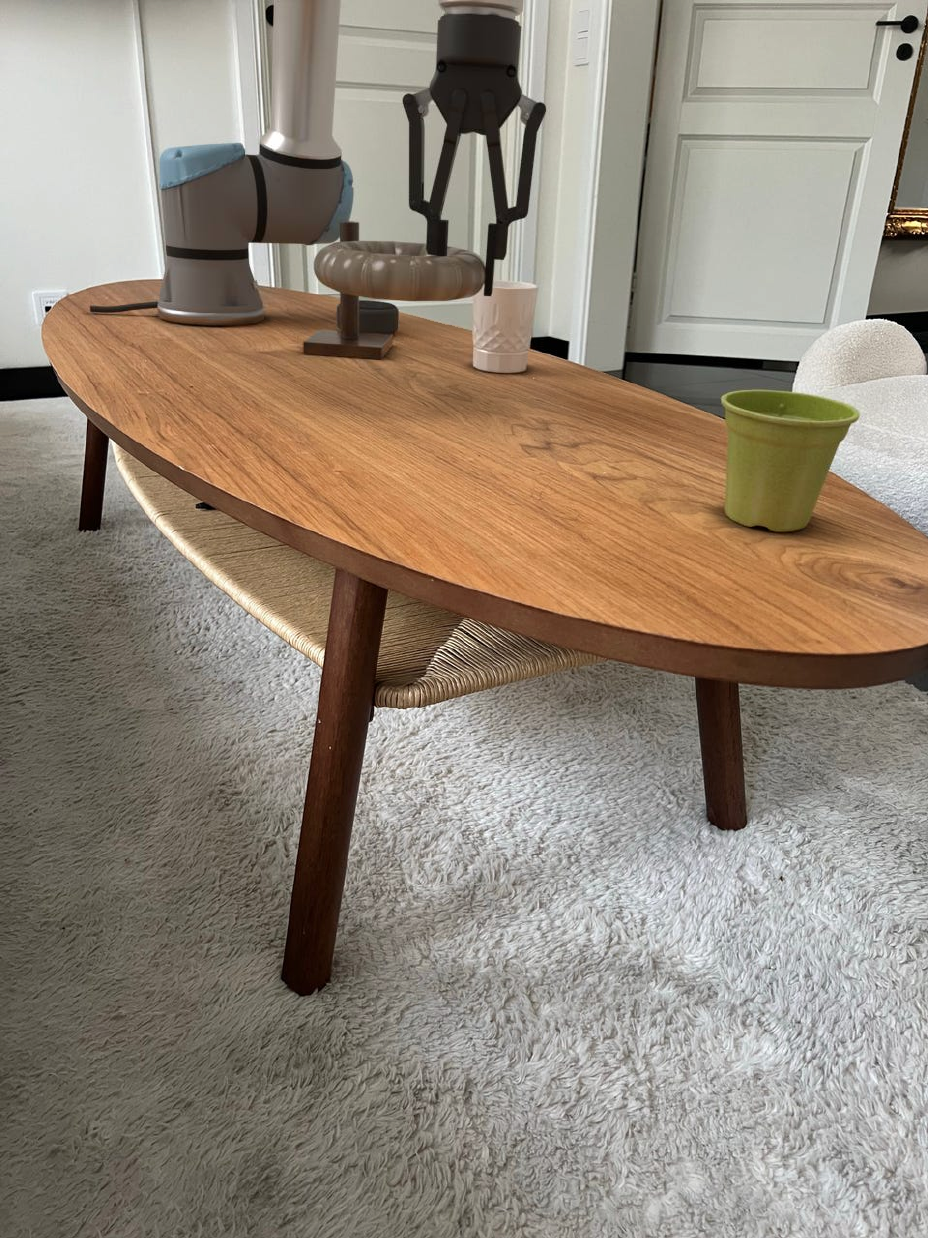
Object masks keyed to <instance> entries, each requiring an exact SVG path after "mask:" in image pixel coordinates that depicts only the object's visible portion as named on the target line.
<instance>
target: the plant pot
mask: <svg viewBox="0 0 928 1238" xmlns="http://www.w3.org/2000/svg"><path fill="white" fill-rule="evenodd" d="M720 401H721V402H720V404H721V406H722V407H723V408H724V409H725V410H724V412H725V413H724V414H725V415H724V416H725V417H724V418H725V419H724V422H725V424H726V425H725V426H726V427H727V442H726V443H727V444H726V445H727V446H726V469H725V489H724V490H725V493H724V513H725V515H726V516H727V517H728V518H729V519H730V520H732V521H733V522H736V523H738V524H739V525H741V526H743V527H749V528H752V527H755V526H759V527H765V528H767V529H768V530H769V531H772V532H778V533H783V532H793V531H799V530H802V529H804V528H806V527H807V525H808V524H809V522H810V520H811V517H812V515H813V513H814V510H815V507H816V506H817V505H816V504H817V501H818V500H819V497H820V494H821V492H822V490H823V486H824V484H825V481H826V480H827V479H826V478H827V476H828V474H829V471H830V469H831V467H832V464H833V461H834V459H835V456H836V454H837V452H838V449H839V447H840V444H841V442H843V441H844V440H845V438H846V437H847V435H848V432H849V430H850V427H851V426H852V424H855V423H856V422H858V420H859V418H860V411H859V410H858V409H856V407H854V406H852V405H850V404H847V403H845V402H842V401H839V400H836V399H831V398H828V397H824V396H819V395H815V394H809V393H804V392H795V391H788V390H787V391H786V390H772V389H741V390H736V391H735V390H734V391H730V392H727V393H725V394H723V395H722V396H721V398H720Z"/></svg>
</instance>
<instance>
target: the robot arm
mask: <svg viewBox="0 0 928 1238" xmlns="http://www.w3.org/2000/svg"><path fill="white" fill-rule="evenodd" d="M341 2H342V0H273V23H272V24H273V25H272V27H273V28H272V33H273V34H272V63H271V65H272V66H271V67H272V68H271V69H272V70H271V102H270V103H271V104H270V105H271V107H270V108H271V110H270V112H271V113H270V126H269V129H267V131H266V132H265V133H264V134H262V135H261V136H260V137H259V145H258V146H259V151H258V154H246V149H245V148H244V145H243V143H241V142H226V143H225V142H224V143H207V144H195V145H184V146H173V147H169V148H167V149H165V150H163V151H162V152H161V154H160V156H159V160H158V168H159V169H158V170H159V173H158V174H159V175H158V177H159V178H158V179H159V183H158V189H159V190H160V198H161V209H162V223H163V230H164V231H163V232H164V233H163V234H164V243H165V256H166V264H165V268H164V272H163V278H162V281H161V286H160V291H159V295H158V300H157V301H146V302H136V303H128V304H127V303H126V304H120V305H119V304H118V305H109V306H108V305H107V306H105V305H104V306H102V305H89V311H90V313H102V314H114V313H123V312H131V311H138V310H139V311H140V310H151V309H157V312H158V313H157V315H158V318H160V319H161V320H163V321H168V322H171V323H177V324H184V325H196V326H239V325H249V324H250V325H251V324H254V323H255V324H256V323H259V322H262V321H263V320H265V306H264V302H263V300H262V296H261V294H260V291H259V288H260V286H259V283H258V281H257V279H255V277H254V273H253V271H252V269H251V264H250V250H249V249H250V248H249V247H250V246H249V245H250V244H282V245H283V244H285V245H286V244H287V245H289V244H290V245H291V244H292V245H298V244H299V245H305V246H314V245H325V244H328V245H329V244H332V243H335V242H337V241H338V240H340V221H350V219H351V214H352V211H353V205H354V197H355V196H354V195H355V191H354V188H355V187H353V183H354V177H353V176H354V175H353V173H352V169H351V167H350V165H349V164H348V162H347V161H344V160H343V159H342V154H343V153H342V148H341V147H340V145H339V144H338V143H337V142H336V141H335V139H334V136H333V131H334V130H333V129H334V113H335V98H336V97H335V96H336V84H337V83H336V82H337V81H336V80H337V64H338V50H339V32H340V30H339V29H340V18H341ZM524 2H525V0H438V4H437V5H438V7H439V8H440V10H442V11H444V14H443V15H442V16H439V17H440V18H439V19H438V20H437V31H436V32H437V33H436V34H437V35H436V57H435V71H434V75H433V77H432V79H431V81H430V83H429V87H428V88H425V89H423V90H420V91H418V92H415V93H409V92H408V93H405V94H404V95H403V96H402V105H403V109H404V112H405V115H406V118H407V121H408V208H409V209H410V210H411V211H412V212H416V213H418V214H420V215H422V216H423V217H424V218H425V219H426V242H425V244H426V250H427V253H428V255H437V256H447V246H448V241H449V222H450V221H449V220H450V219H442V215H443V209H444V206H445V202H446V197H447V193H448V189H449V184H450V181H451V177H452V172H453V169H454V164H455V161H456V159H455V158H456V157H457V151H458V147H459V144H460V141H461V138H462V137H461V136H462V135H468V134H472V133H475V134H478V135H481V136H485V142H486V147H487V154H488V163H489V171H490V179H491V187H492V189H491V190H492V196H493V204H494V212H495V213H494V214H495V223H493V222H489V223H488V225H487V239H486V254H485V265H486V267H485V282H484V296H491V295H492V290H493V280H494V275H495V261H504V260H505V258H506V256H507V253H508V240H509V237H508V236H509V228H510V225H511V224H512V223H513V222H516V221H519V220H524V219H525V218H527V216H528V213H529V209H530V208H529V207H530V199H531V198H530V197H531V189H532V180H533V171H534V163H535V153H536V145H537V137H538V131H539V129H540V127H541V125H542V122H543V121H544V118H545V116H546V113H547V106H546V104H545V103H543V102H541V101H538V102H537V101H536V100H534V99H532V98H531V97H529V96H527V95H525V94H524V93H523V90H522V86H521V84H520V81H519V67H520V66H519V65H520V53H521V52H520V51H521V39H522V25H520V24H521V23H520V22H519V21H518V20H516V17H518V16H520V15H521V14H522V13H523V11H524ZM432 102H434V104H435V106H436V108H437V109H438V111H439V113H440V115H441V117H442V118H443V120H444V122H445V123H446V127H445V131H444V136H443V142H442V143H443V144H442V147H441V151H440V155H439V159H438V164H437V168H436V172H435V176H434V180H433V185H432V188H431V194H430V197H429V201H428V200H426V199H425V152H426V151H425V150H426V149H425V147H426V146H425V143H426V142H425V141H426V140H425V139H426V132H425V131H426V130H425V129H426V128H425V119H424V118H427V117H428V116H429V113H430V104H431V103H432ZM517 107H518V108H519V109H520V121H521V123H522V124H523V125H525V127H524V131H523V137H522V146H521V156H520V165H519V174H518V184H517V191H516V200H515V201H516V202H515V206H511V207H509V199H508V191H507V183H506V175H505V166H504V157H503V150H502V138H501V128H502V127H503V126H504V125H505V123H506V122H507V120H508V119H509V118H510V116H511V115H512V113H513V112H514V110H516V108H517Z"/></svg>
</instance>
